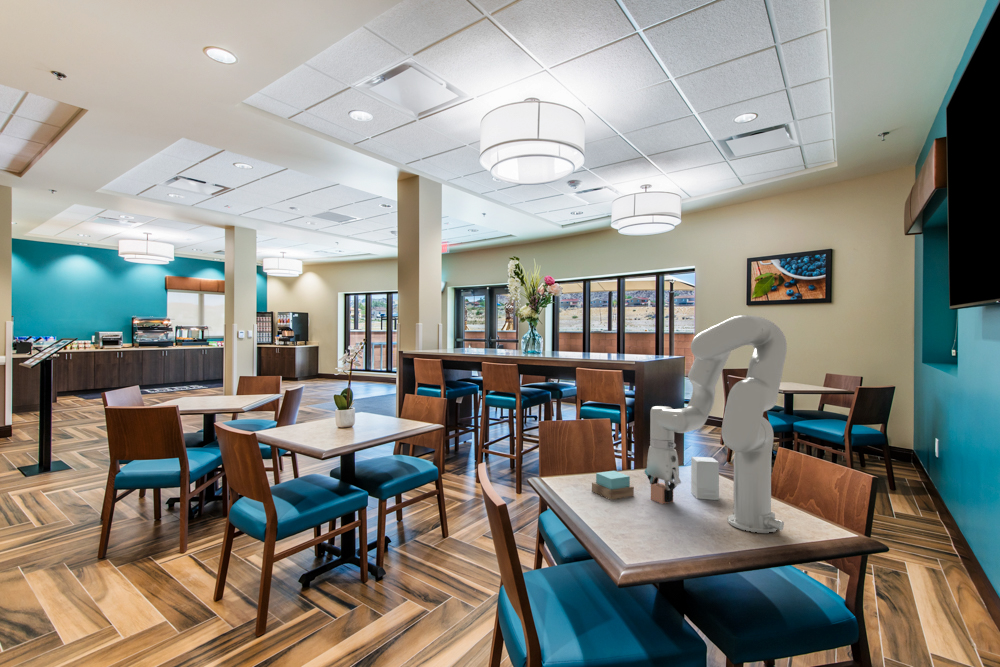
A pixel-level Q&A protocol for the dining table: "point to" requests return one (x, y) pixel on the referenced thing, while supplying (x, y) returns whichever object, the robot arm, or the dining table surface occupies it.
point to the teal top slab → (613, 480)
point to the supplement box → (705, 478)
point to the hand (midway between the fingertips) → (661, 498)
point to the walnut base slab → (612, 491)
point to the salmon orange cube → (658, 492)
